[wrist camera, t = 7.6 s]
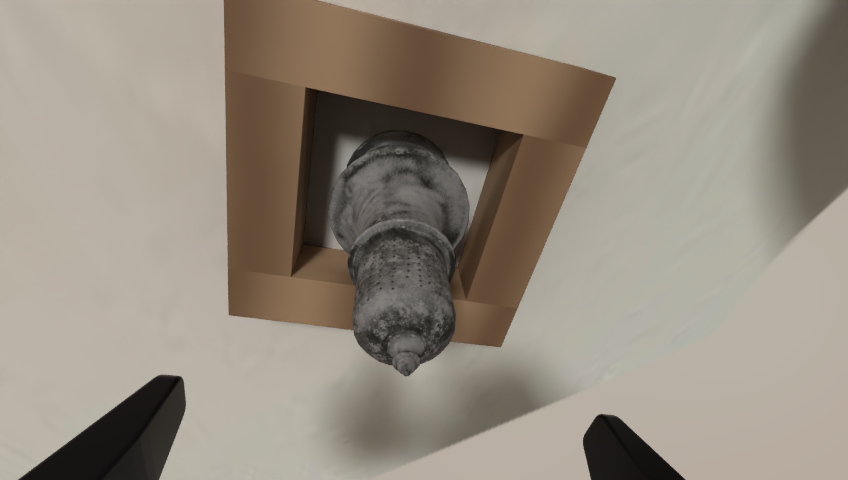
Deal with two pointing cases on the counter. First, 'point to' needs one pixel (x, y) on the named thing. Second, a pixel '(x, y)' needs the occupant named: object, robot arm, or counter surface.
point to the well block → (405, 88)
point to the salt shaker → (400, 245)
